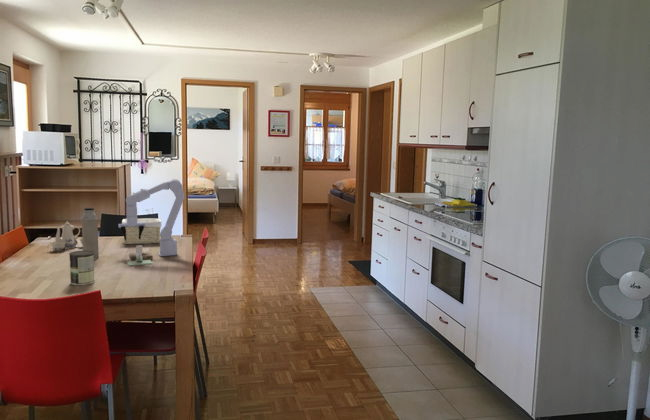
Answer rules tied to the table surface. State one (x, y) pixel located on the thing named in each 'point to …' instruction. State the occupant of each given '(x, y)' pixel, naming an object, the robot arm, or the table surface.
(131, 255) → the eye block
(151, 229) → the storage basket
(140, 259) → the steel peg
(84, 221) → the thermos bottle
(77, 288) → the table surface
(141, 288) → the table surface
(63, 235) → the chinaware
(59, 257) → the table surface
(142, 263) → the sage mat
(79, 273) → the coffee can
